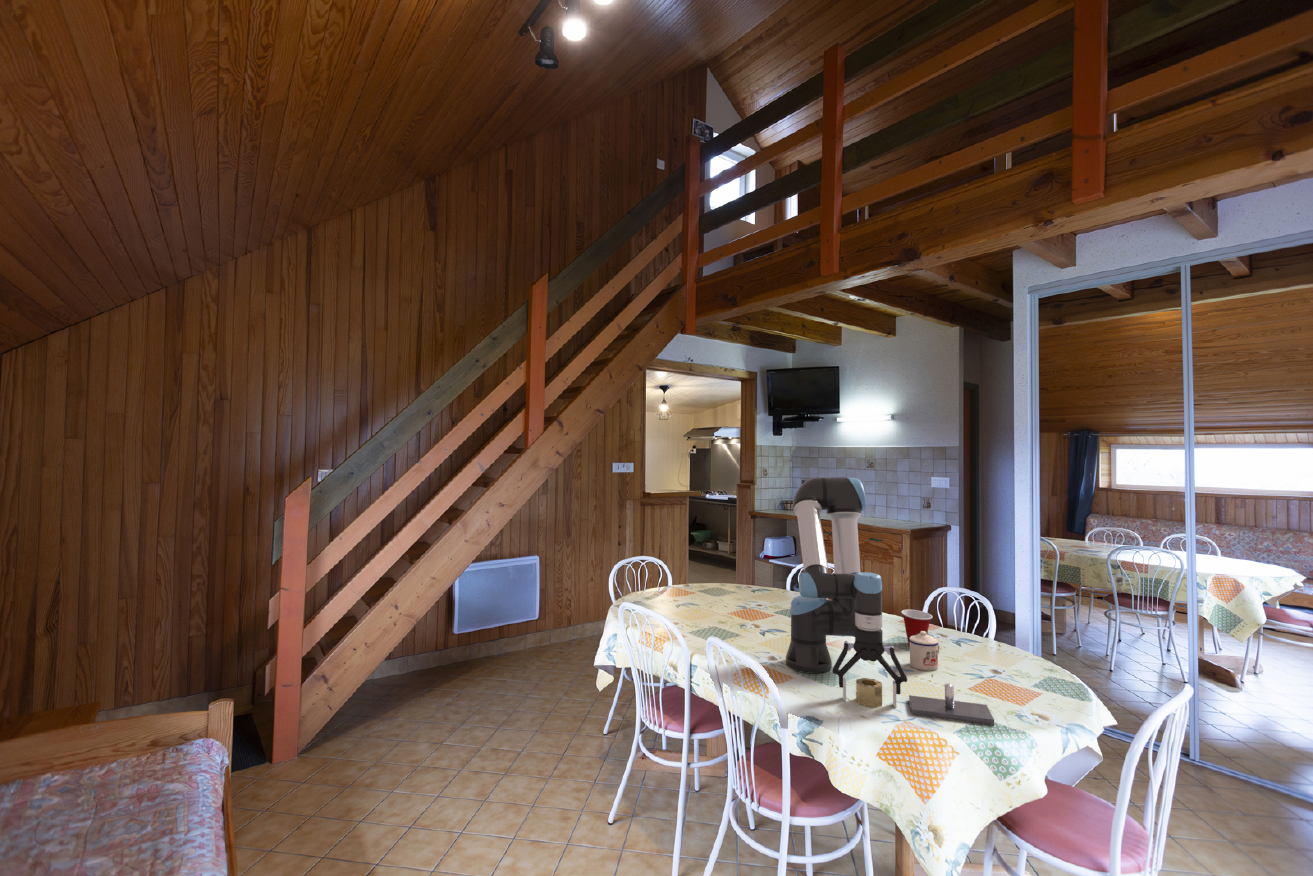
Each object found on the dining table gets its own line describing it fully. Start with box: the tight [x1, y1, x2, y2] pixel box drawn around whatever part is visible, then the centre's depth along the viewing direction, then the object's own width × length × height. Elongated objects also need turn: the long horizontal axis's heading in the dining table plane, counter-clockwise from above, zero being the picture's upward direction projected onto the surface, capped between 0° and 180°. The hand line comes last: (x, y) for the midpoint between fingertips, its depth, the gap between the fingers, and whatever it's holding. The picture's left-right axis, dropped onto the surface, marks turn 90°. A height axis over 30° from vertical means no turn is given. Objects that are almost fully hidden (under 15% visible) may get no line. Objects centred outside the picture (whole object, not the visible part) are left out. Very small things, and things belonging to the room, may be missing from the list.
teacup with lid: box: [909, 631, 940, 672], centre depth 200 cm, size 12×9×12 cm
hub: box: [855, 677, 883, 708], centre depth 170 cm, size 7×7×6 cm
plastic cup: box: [901, 609, 934, 646], centre depth 222 cm, size 11×11×12 cm
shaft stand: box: [908, 683, 995, 726], centre depth 164 cm, size 20×10×8 cm, turn 71°
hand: (869, 702), depth 170 cm, fingers open, 13 cm apart
